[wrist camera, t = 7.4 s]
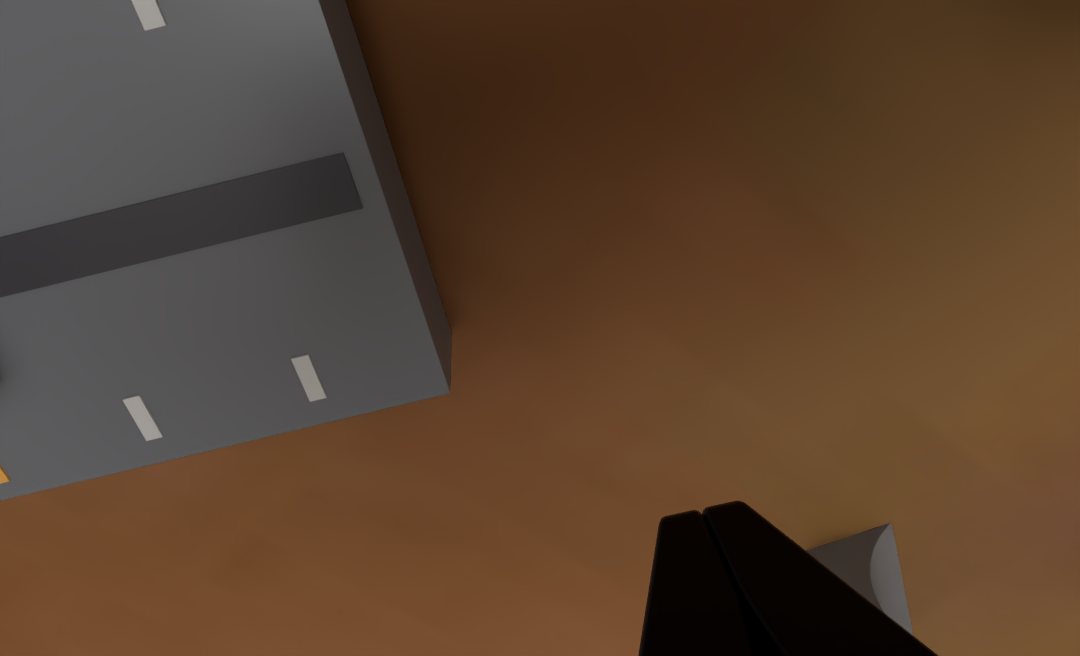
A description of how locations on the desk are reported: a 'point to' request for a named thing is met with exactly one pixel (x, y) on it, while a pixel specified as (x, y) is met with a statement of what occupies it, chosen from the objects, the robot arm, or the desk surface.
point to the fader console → (197, 235)
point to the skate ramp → (870, 569)
